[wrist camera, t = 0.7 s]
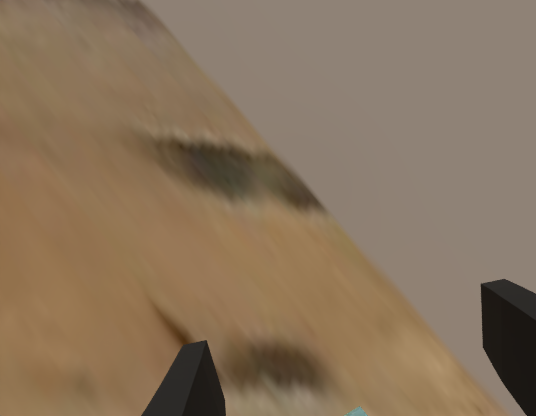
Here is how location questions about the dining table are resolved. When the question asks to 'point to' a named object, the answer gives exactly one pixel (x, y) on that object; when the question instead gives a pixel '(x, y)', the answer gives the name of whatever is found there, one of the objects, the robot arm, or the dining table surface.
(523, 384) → the robot arm
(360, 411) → the teal cube
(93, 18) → the dining table surface
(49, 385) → the dining table surface
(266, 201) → the dining table surface
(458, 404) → the dining table surface
